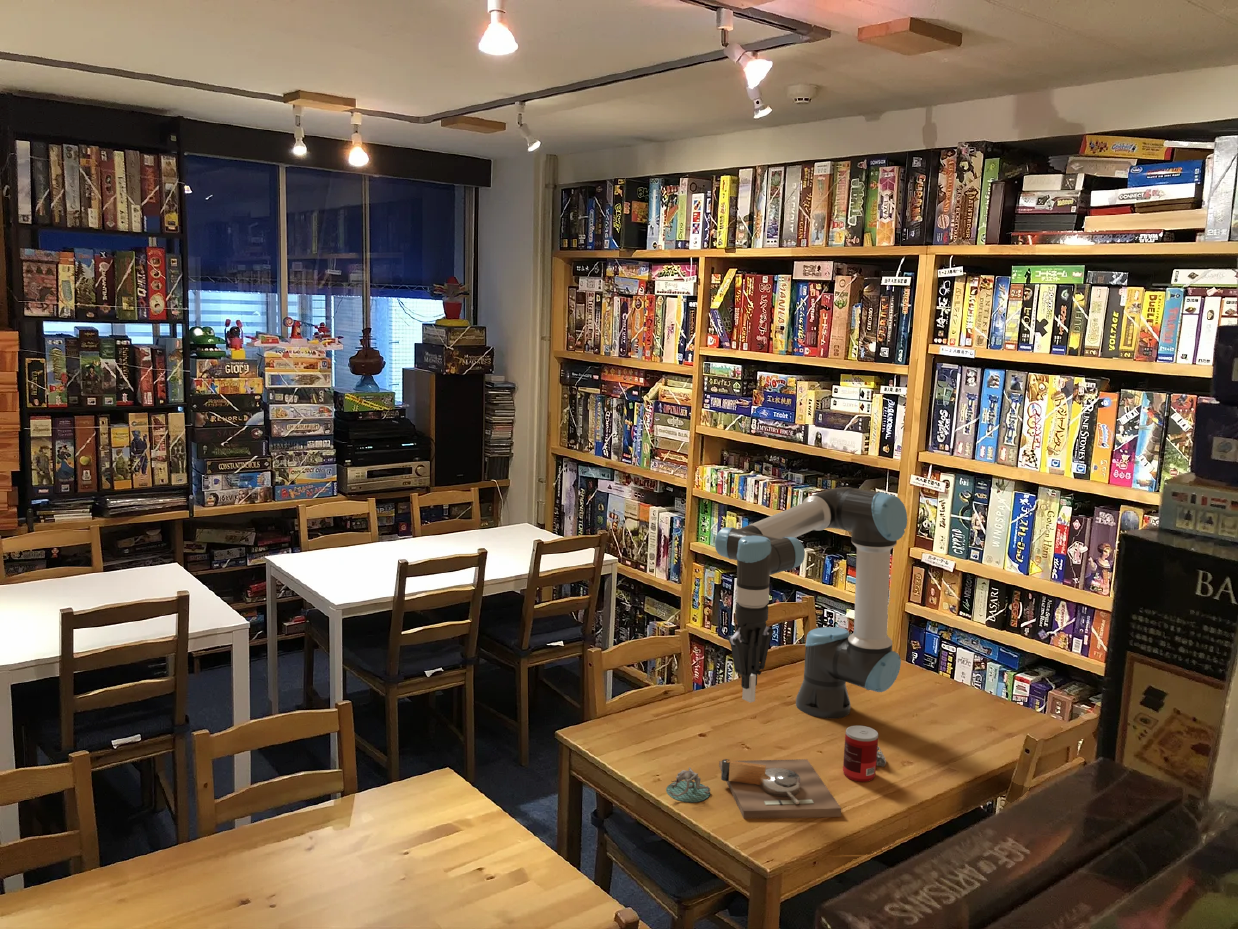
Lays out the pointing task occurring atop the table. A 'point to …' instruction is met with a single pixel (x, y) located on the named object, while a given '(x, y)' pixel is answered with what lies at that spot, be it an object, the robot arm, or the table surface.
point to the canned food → (860, 753)
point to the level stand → (763, 805)
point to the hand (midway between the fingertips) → (748, 700)
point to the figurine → (688, 788)
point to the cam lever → (763, 778)
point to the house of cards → (880, 758)
